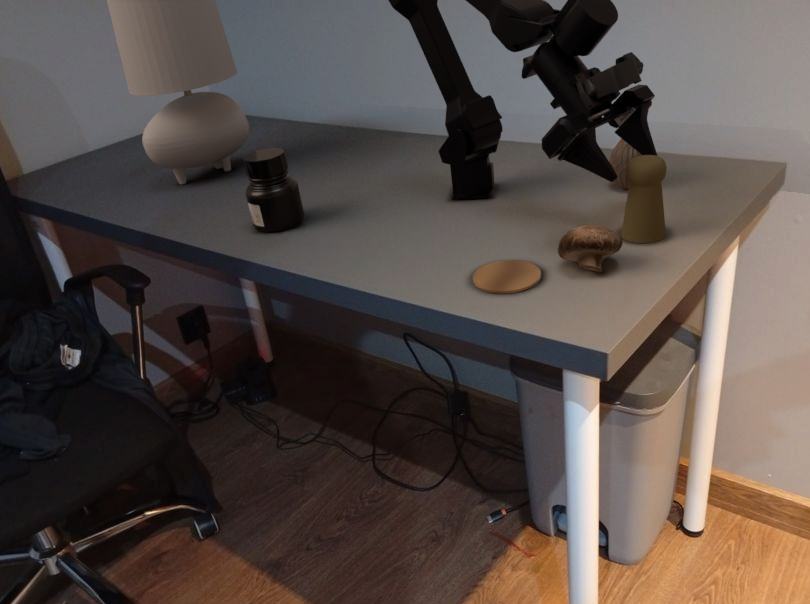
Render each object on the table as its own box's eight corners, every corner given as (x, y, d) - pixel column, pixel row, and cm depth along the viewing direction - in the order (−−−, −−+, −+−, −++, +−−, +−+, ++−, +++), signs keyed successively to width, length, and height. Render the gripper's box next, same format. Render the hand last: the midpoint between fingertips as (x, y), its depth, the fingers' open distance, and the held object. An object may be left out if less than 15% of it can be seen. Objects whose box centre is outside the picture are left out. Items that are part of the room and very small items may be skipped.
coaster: (468, 294, 95) (468, 291, 95) (477, 263, 102) (477, 260, 102) (538, 293, 92) (538, 290, 92) (543, 262, 100) (543, 259, 100)
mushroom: (606, 264, 89) (599, 214, 90) (550, 278, 95) (543, 231, 95) (635, 269, 95) (628, 223, 96) (581, 282, 101) (574, 238, 101)
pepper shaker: (673, 230, 103) (679, 152, 97) (653, 246, 99) (657, 167, 93) (634, 222, 106) (636, 148, 101) (612, 238, 103) (614, 161, 97)
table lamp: (181, 200, 144) (112, -26, 123) (137, 182, 158) (68, -23, 138) (278, 165, 155) (231, -48, 134) (229, 151, 170) (178, -42, 149)
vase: (655, 191, 115) (657, 136, 111) (609, 194, 117) (610, 139, 113) (651, 176, 121) (654, 123, 116) (608, 179, 123) (609, 126, 118)
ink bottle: (260, 215, 130) (243, 148, 124) (308, 209, 130) (294, 142, 123) (248, 237, 122) (230, 167, 116) (300, 231, 121) (284, 160, 115)
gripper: (556, 53, 90) (632, 153, 88) (644, 22, 99) (715, 112, 97) (511, 112, 99) (579, 204, 97) (596, 78, 109) (659, 162, 107)
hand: (635, 169), depth 99 cm, fingers open, 9 cm apart
